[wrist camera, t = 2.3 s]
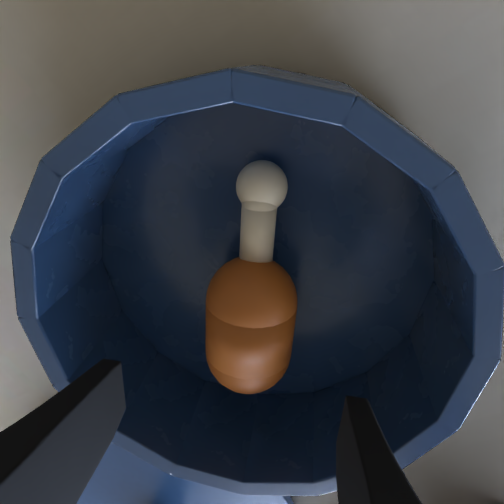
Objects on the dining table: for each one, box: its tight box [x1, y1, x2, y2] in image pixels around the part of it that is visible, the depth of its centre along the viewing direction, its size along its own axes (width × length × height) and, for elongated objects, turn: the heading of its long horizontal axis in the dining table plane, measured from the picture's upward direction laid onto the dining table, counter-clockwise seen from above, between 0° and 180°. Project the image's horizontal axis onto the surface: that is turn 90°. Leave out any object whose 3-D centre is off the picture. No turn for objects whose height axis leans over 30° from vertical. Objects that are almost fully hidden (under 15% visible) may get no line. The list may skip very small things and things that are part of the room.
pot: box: [10, 65, 504, 496], centre depth 16 cm, size 16×16×5 cm
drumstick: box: [205, 160, 297, 394], centre depth 16 cm, size 10×4×4 cm, turn 177°
